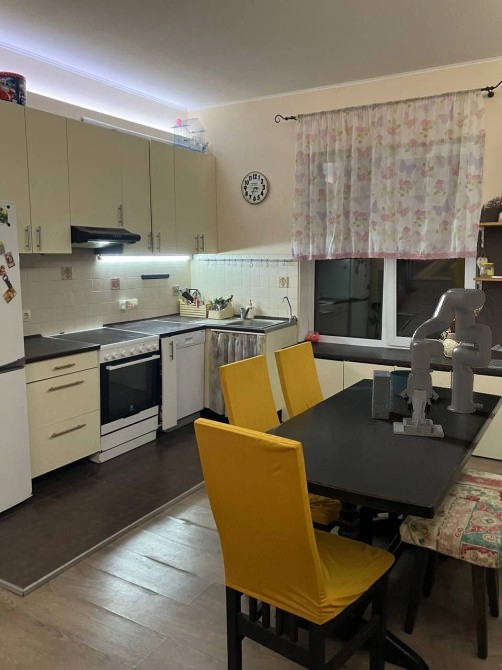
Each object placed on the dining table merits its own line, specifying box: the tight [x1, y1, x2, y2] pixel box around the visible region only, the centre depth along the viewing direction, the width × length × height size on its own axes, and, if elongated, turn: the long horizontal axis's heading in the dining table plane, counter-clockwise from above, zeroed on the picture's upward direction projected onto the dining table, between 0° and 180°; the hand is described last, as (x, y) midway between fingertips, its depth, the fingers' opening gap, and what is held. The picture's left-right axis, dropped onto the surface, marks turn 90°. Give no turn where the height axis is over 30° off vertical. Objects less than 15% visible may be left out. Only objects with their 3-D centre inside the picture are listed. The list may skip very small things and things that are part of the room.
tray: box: [393, 417, 445, 438], centre depth 237 cm, size 20×14×6 cm
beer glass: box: [411, 390, 428, 425], centre depth 236 cm, size 7×7×15 cm
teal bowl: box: [389, 369, 411, 398], centre depth 296 cm, size 18×18×12 cm
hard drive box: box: [371, 369, 391, 420], centre depth 260 cm, size 16×8×20 cm, turn 168°
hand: (418, 412), depth 237 cm, fingers closed on beer glass, 6 cm apart
